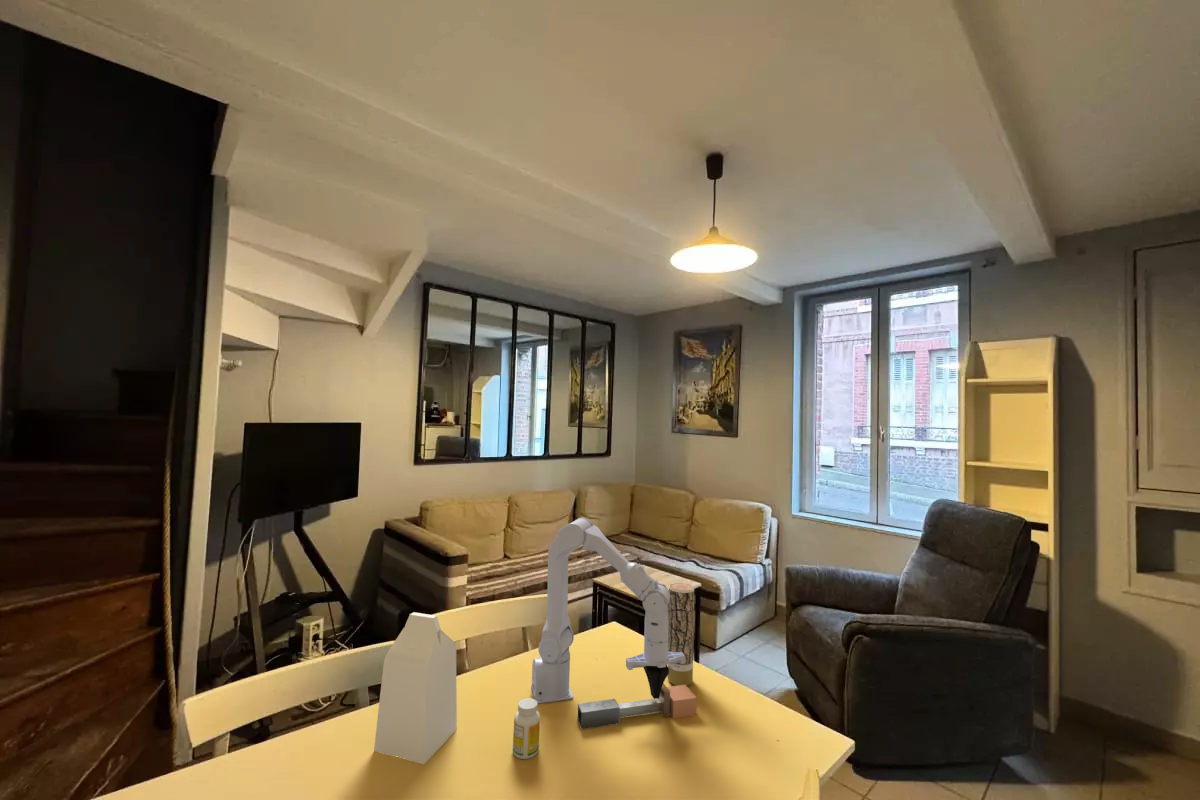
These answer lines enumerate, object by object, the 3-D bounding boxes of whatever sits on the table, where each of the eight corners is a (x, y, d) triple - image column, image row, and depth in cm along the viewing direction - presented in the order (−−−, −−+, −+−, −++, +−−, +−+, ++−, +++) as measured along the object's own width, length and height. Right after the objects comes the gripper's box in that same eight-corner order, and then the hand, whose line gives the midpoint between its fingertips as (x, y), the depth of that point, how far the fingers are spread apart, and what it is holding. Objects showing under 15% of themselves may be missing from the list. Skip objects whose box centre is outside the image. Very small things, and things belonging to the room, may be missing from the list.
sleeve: (581, 729, 106) (581, 712, 107) (577, 719, 110) (578, 703, 110) (619, 723, 109) (619, 707, 109) (614, 714, 112) (614, 698, 113)
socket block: (673, 718, 111) (673, 700, 112) (662, 704, 117) (663, 687, 117) (696, 715, 113) (696, 697, 113) (684, 701, 119) (685, 684, 119)
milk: (456, 729, 105) (462, 609, 107) (424, 764, 94) (431, 629, 96) (410, 719, 108) (416, 602, 110) (373, 751, 97) (381, 621, 99)
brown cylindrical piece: (685, 690, 124) (687, 592, 125) (662, 681, 128) (664, 586, 129) (697, 680, 129) (698, 586, 131) (674, 672, 133) (676, 581, 135)
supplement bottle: (511, 760, 96) (513, 711, 96) (513, 743, 101) (515, 696, 102) (538, 759, 96) (540, 710, 97) (539, 742, 102) (540, 695, 102)
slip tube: (604, 725, 107) (605, 700, 108) (598, 712, 112) (599, 688, 112) (681, 713, 113) (681, 689, 113) (672, 702, 117) (672, 679, 118)
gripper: (633, 648, 109) (632, 710, 108) (691, 642, 113) (690, 701, 112) (623, 635, 115) (622, 693, 114) (678, 630, 119) (677, 685, 119)
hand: (654, 696), depth 114 cm, fingers closed
